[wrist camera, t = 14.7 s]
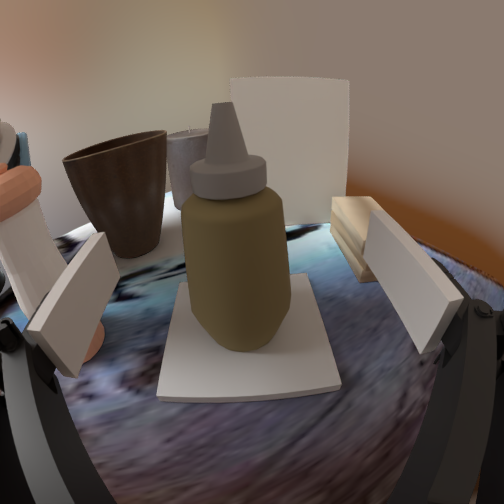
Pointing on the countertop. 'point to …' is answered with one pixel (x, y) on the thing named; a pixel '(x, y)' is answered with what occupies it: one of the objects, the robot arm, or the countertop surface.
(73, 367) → the robot arm
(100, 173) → the plant pot
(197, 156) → the pillar candle
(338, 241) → the offcut stack
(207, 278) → the squeeze bottle
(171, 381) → the grey mat
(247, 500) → the countertop surface
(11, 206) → the pepper shaker
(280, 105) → the panel
